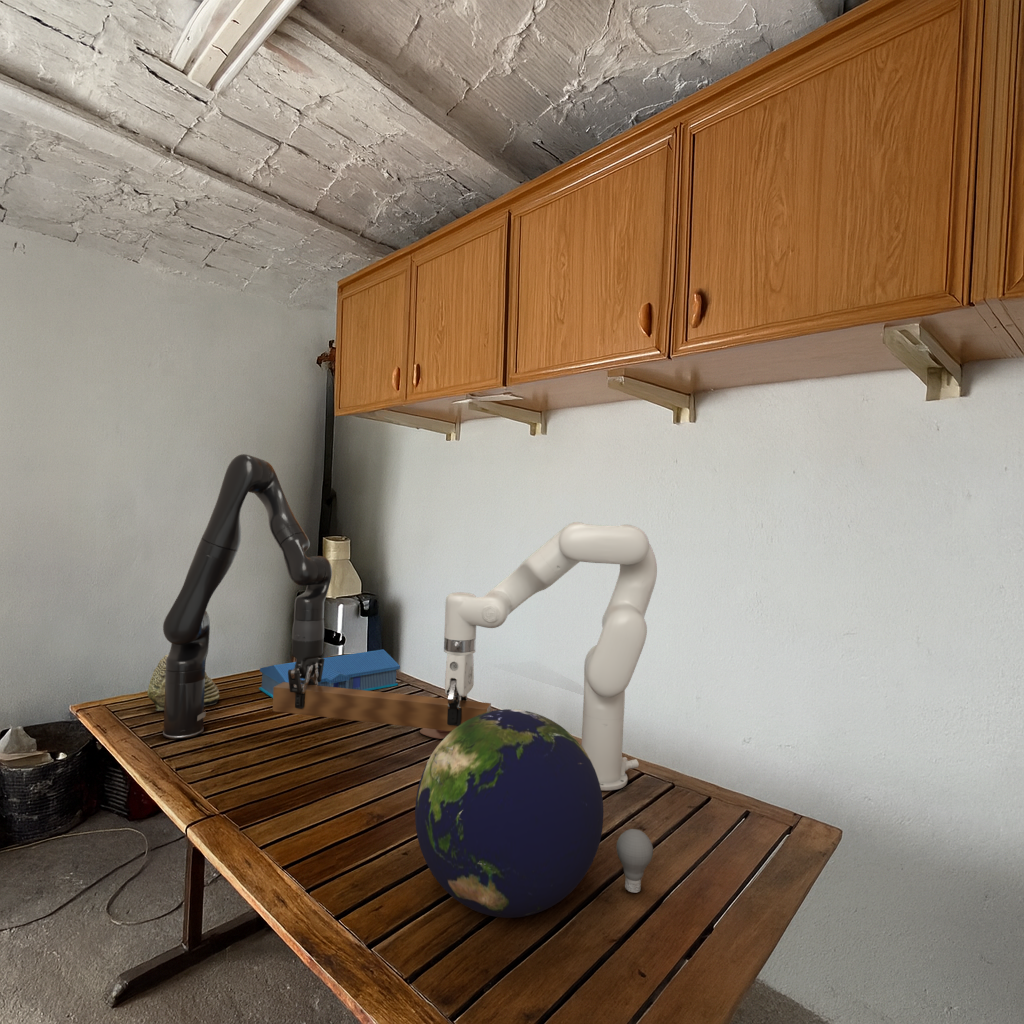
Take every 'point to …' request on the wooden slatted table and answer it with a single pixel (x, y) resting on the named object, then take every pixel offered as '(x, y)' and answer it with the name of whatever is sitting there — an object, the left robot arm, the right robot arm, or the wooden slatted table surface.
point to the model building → (342, 672)
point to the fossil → (158, 687)
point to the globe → (509, 813)
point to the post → (374, 706)
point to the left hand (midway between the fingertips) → (305, 704)
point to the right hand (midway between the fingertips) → (457, 720)
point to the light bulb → (634, 857)
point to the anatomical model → (434, 733)
